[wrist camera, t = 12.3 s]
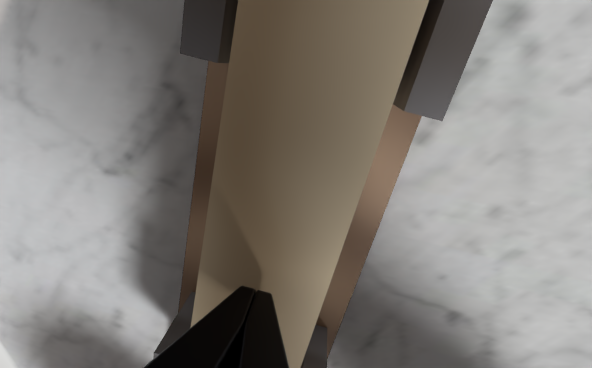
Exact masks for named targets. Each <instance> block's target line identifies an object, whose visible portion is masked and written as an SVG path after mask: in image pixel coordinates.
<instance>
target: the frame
mask: <svg viewBox="0 0 592 368" xmlns="http://www.w3.org/2000/svg"><path fill="white" fill-rule="evenodd" d="M492 1H493V0H429V2H428V5H427V8H426V11H425V14H424V16H423V19H422V22H421V25H420V28H419V31H418V34H417V36H416V39H415V42H414V45H413V48H412V51H411V54H410V56H409V59H408V62H407V65H406V68H405V71H404V73H403V76H402V79H401V82H400V85H399V88H398V91H397V93H396V96H395V99H394V102H393V105H392V108H391V111H390V113H389V116H388V119H387V122H386V125H385V128H384V131H383V133H382V136H381V139H380V142H379V145H378V148H377V151H376V153H375V156H374V159H373V162H372V165H371V168H370V171H369V173H368V176H367V179H366V182H365V185H364V188H363V191H362V193H361V196H360V199H359V202H358V205H357V208H356V211H355V213H354V216H353V219H352V222H351V225H350V228H349V231H348V233H347V236H346V239H345V242H344V245H343V248H342V250H341V253H340V256H339V259H338V262H337V265H336V268H335V270H334V273H333V276H332V279H331V282H330V285H329V288H328V290H327V293H326V296H325V299H324V302H323V305H322V308H321V310H320V313H319V316H318V319H317V322H316V325H315V328H314V330H313V333H312V336H311V339H310V342H309V345H308V348H307V350H306V353H305V356H304V359H303V362H302V365H301V368H327V358H328V355H329V353H330V350H331V348H332V345H333V343H334V340H335V337H336V335H337V332H338V330H339V327H340V325H341V322H342V319H343V317H344V314H345V312H346V309H347V307H348V304H349V301H350V299H351V296H352V294H353V291H354V289H355V286H356V283H357V281H358V278H359V276H360V273H361V271H362V268H363V265H364V263H365V260H366V258H367V255H368V253H369V250H370V247H371V245H372V242H373V240H374V237H375V235H376V232H377V230H378V227H379V224H380V222H381V219H382V217H383V214H384V212H385V209H386V206H387V204H388V201H389V199H390V196H391V194H392V191H393V188H394V186H395V183H396V181H397V178H398V176H399V173H400V170H401V168H402V165H403V163H404V160H405V158H406V155H407V152H408V150H409V147H410V145H411V142H412V140H413V137H414V135H415V132H416V129H417V127H418V124H419V122H420V119H421V117H422V116H425V117H429V118H432V119H436V120H440V121H443V118H444V116H445V114H446V111H447V109H448V106H449V104H450V102H451V99H452V97H453V94H454V92H455V90H456V87H457V85H458V82H459V80H460V78H461V75H462V73H463V70H464V68H465V66H466V63H467V61H468V58H469V56H470V54H471V51H472V49H473V46H474V44H475V42H476V39H477V37H478V34H479V32H480V30H481V27H482V25H483V22H484V20H485V18H486V15H487V13H488V11H489V8H490V6H491V3H492ZM237 5H238V0H185V2H184V14H183V25H182V37H181V48H180V53H181V54H184V55H188V56H192V57H196V58H200V59H204V60H208V69H207V77H206V85H205V94H204V102H203V110H202V119H201V127H200V135H199V144H198V152H197V160H196V168H195V177H194V185H193V193H192V202H191V210H190V218H189V227H188V235H187V243H186V252H185V260H184V268H183V276H182V285H181V293H180V301H179V310H178V315H177V316H176V318H175V320H174V321H173V323H172V324H171V326H170V328H169V329H168V331H167V333H166V334H165V336H164V337H163V339H162V341H161V342H160V344H159V345H158V347H157V349H156V350H155V352H154V358H155V357H156V356H158V355H159V354H160V353H161V352H162V351H164V350H165V349H166V348H167V347H168V346H170V345H171V344H172V343H173V342H174V341H176V340H177V339H178V338H179V337H180V336H181V335H183V334H184V333H185V332H186V331H187V330H189V329H190V328H191V321H192V314H193V307H194V301H195V294H196V287H197V280H198V273H199V266H200V259H201V252H202V246H203V239H204V232H205V225H206V218H207V211H208V204H209V198H210V191H211V184H212V177H213V170H214V163H215V156H216V149H217V143H218V136H219V129H220V122H221V115H222V108H223V101H224V94H225V88H226V81H227V74H228V67H229V60H230V53H231V46H232V39H233V33H234V26H235V19H236V12H237ZM154 358H153V359H154Z"/></svg>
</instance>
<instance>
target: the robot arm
mask: <svg viewBox="0 0 592 368" xmlns="http://www.w3.org/2000/svg"><path fill="white" fill-rule="evenodd" d="M143 368H289V364H288V360H287V356H286V351H285V347H284V343H283V339H282V334H281V330H280V326H279V322H278V317H277V313H276V309H275V305H274V300H273V296H272V294H271V293H269V292H265V291H261V290H257V291H256V290H255V289H254V288H250V287H247V286H240V287H239V288H237V289H236V290H235V291H234V292H233V293H232V294H230V295H229V296H228V297H227V298H226V299H224V300H223V301H222V302H221V303H220V304H218V305H217V306H216V307H215V308H214V309H212V310H211V311H210V312H209V313H208V314H207V315H205V316H204V317H203V318H202V319H201V320H199V321H198V322H197V323H196V324H195V325H193V326H192V327H191V328H190V329H189V330H187V331H186V332H185V333H184V334H183V335H181V336H180V337H179V338H178V339H177V340H176V341H174V342H173V343H172V344H171V345H170V346H168V347H167V348H166V349H165V350H164V351H162V352H161V353H160V354H159V355H158V356H156V357H155V358H154V359H153V360H152V361H151V362H149V363H148V364H147V365H146V366H145V367H143Z"/></svg>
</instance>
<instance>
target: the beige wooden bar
mask: <svg viewBox="0 0 592 368" xmlns="http://www.w3.org/2000/svg"><path fill="white" fill-rule="evenodd" d="M428 2H429V0H238V5H237V12H236V19H235V26H234V33H233V39H232V46H231V53H230V60H229V67H228V74H227V81H226V88H225V94H224V101H223V108H222V115H221V122H220V129H219V136H218V143H217V149H216V156H215V163H214V170H213V177H212V184H211V191H210V198H209V204H208V211H207V218H206V225H205V232H204V239H203V246H202V252H201V259H200V266H199V273H198V280H197V287H196V294H195V301H194V307H193V314H192V321H191V327H192V326H193V325H195V324H196V323H197V322H198V321H199V320H201V319H202V318H203V317H204V316H205V315H207V314H208V313H209V312H210V311H211V310H212V309H214V308H215V307H216V306H217V305H218V304H220V303H221V302H222V301H223V300H224V299H226V298H227V297H228V296H229V295H230V294H232V293H233V292H234V291H235V290H236V289H237V288H239V287H240V286H247V287H250V288H254V289H255V290H256V291H257V290H261V291H265V292H269V293H271V294H272V296H273V300H274V305H275V309H276V313H277V317H278V322H279V326H280V330H281V334H282V339H283V343H284V347H285V351H286V356H287V360H288V364H289V368H301V365H302V362H303V359H304V356H305V353H306V350H307V348H308V345H309V342H310V339H311V336H312V333H313V330H314V328H315V325H316V322H317V319H318V316H319V313H320V310H321V308H322V305H323V302H324V299H325V296H326V293H327V290H328V288H329V285H330V282H331V279H332V276H333V273H334V270H335V268H336V265H337V262H338V259H339V256H340V253H341V250H342V248H343V245H344V242H345V239H346V236H347V233H348V231H349V228H350V225H351V222H352V219H353V216H354V213H355V211H356V208H357V205H358V202H359V199H360V196H361V193H362V191H363V188H364V185H365V182H366V179H367V176H368V173H369V171H370V168H371V165H372V162H373V159H374V156H375V153H376V151H377V148H378V145H379V142H380V139H381V136H382V133H383V131H384V128H385V125H386V122H387V119H388V116H389V113H390V111H391V108H392V105H393V102H394V99H395V96H396V93H397V91H398V88H399V85H400V82H401V79H402V76H403V73H404V71H405V68H406V65H407V62H408V59H409V56H410V54H411V51H412V48H413V45H414V42H415V39H416V36H417V34H418V31H419V28H420V25H421V22H422V19H423V16H424V14H425V11H426V8H427V5H428Z"/></svg>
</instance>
